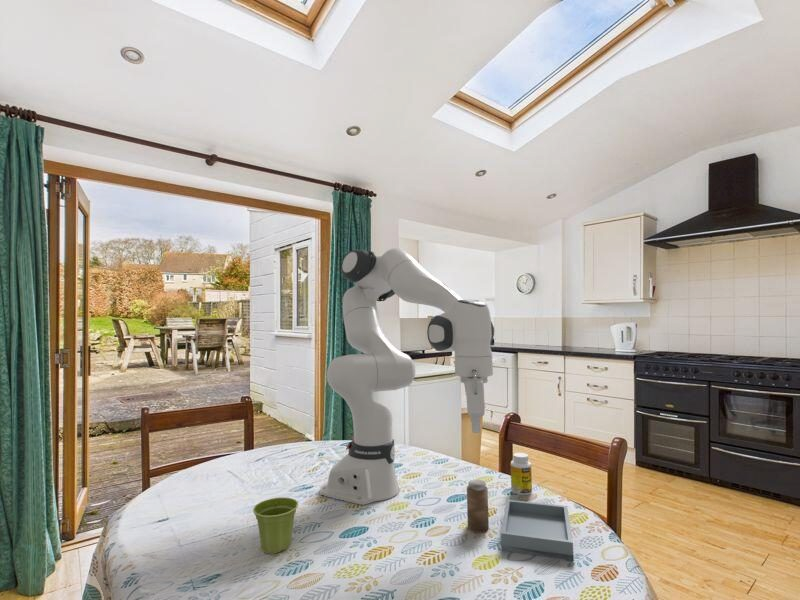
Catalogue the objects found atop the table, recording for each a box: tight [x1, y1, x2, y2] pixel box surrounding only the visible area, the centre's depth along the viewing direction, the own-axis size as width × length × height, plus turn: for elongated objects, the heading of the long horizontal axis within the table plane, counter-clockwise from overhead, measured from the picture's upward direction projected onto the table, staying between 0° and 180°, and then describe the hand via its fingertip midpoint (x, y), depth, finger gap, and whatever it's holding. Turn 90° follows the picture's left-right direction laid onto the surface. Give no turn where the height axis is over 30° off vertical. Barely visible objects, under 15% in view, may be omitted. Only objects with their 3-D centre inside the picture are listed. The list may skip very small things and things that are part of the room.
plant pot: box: [252, 497, 299, 554], centre depth 93 cm, size 9×9×9 cm
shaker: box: [466, 479, 490, 534], centre depth 99 cm, size 5×5×10 cm
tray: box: [500, 499, 574, 561], centre depth 95 cm, size 14×17×4 cm
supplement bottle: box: [510, 452, 533, 496], centre depth 118 cm, size 6×6×10 cm
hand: (475, 426), depth 100 cm, fingers open, 8 cm apart
